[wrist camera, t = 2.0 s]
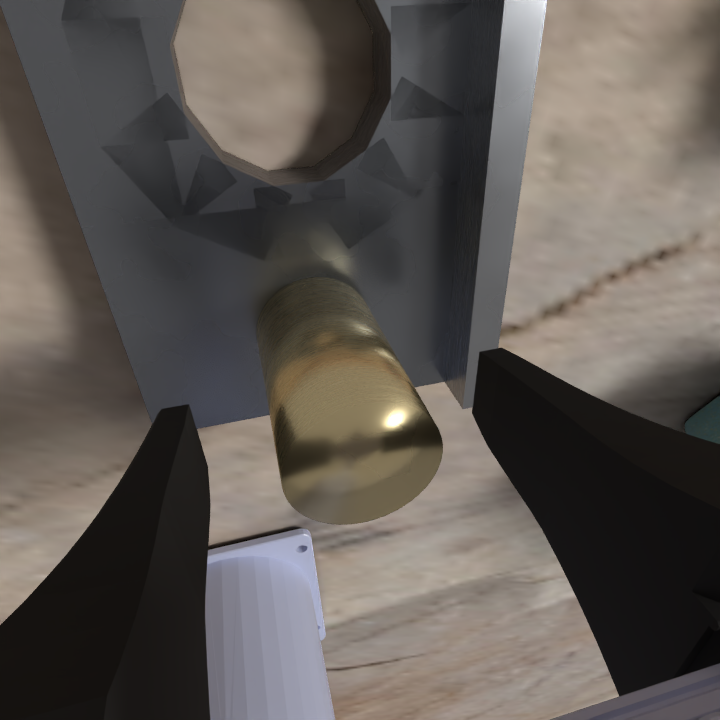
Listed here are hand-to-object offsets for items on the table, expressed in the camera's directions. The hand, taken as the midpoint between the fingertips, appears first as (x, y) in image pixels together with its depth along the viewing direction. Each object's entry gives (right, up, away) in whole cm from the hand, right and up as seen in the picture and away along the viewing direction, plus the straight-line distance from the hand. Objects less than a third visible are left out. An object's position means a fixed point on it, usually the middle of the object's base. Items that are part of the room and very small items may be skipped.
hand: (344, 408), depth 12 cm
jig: (-2, +6, +2) cm, 7 cm away
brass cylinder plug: (-1, +2, +3) cm, 4 cm away
